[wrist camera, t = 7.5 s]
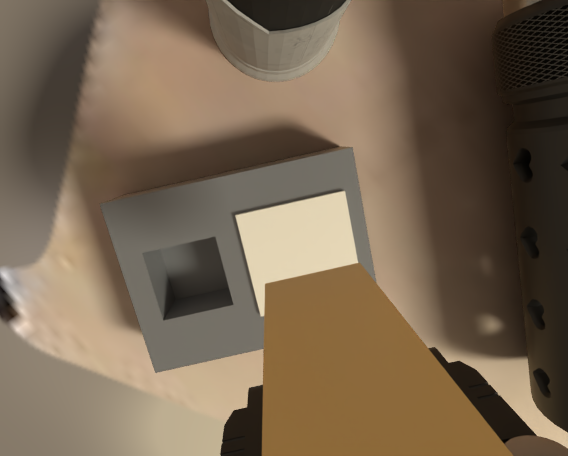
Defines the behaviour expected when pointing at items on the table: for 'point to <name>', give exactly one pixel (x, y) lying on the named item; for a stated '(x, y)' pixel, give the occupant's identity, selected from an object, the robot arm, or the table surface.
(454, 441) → the plug
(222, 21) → the white pitcher
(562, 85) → the muzzle brake
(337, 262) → the block
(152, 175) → the table surface
